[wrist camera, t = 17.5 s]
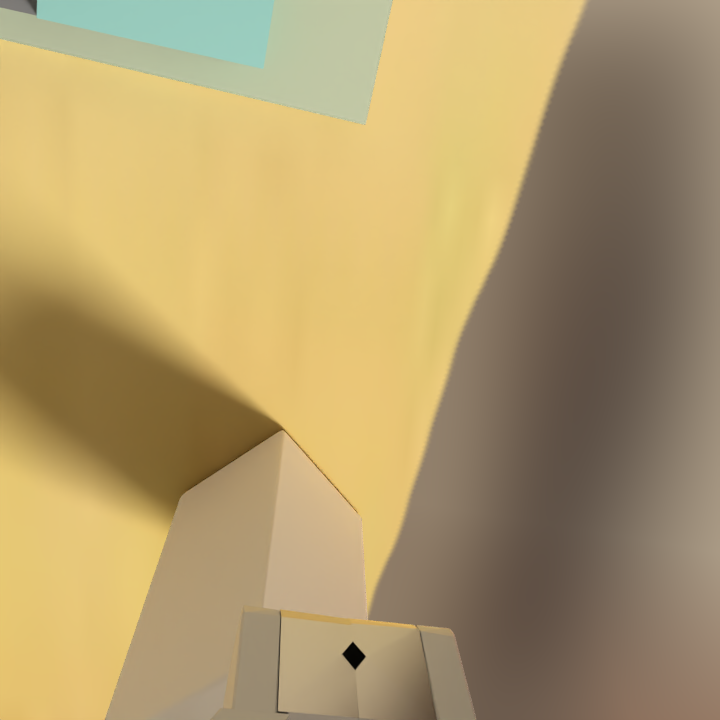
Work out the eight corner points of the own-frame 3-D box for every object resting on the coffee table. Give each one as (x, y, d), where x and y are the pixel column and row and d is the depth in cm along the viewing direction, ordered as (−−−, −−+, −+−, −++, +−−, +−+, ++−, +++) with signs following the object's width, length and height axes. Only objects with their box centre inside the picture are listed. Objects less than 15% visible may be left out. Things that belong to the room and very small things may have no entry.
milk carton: (362, 515, 38) (386, 903, 21) (262, 575, 40) (207, 983, 22) (283, 426, 36) (236, 784, 18) (179, 494, 37) (46, 883, 20)
